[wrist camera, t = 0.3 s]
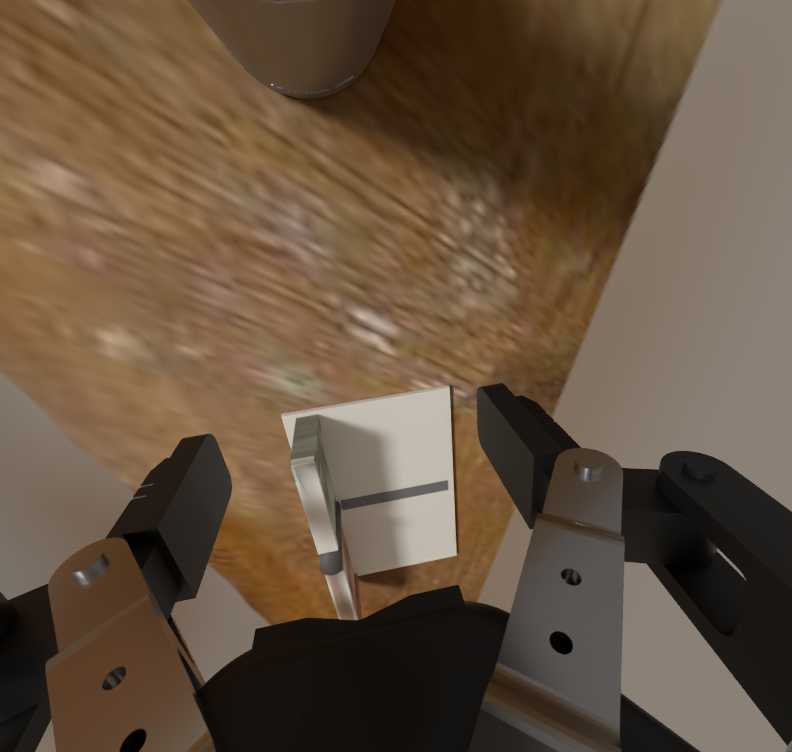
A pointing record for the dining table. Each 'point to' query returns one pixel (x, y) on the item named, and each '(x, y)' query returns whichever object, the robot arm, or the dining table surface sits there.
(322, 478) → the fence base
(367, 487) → the card
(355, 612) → the fence panel
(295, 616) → the dining table surface
